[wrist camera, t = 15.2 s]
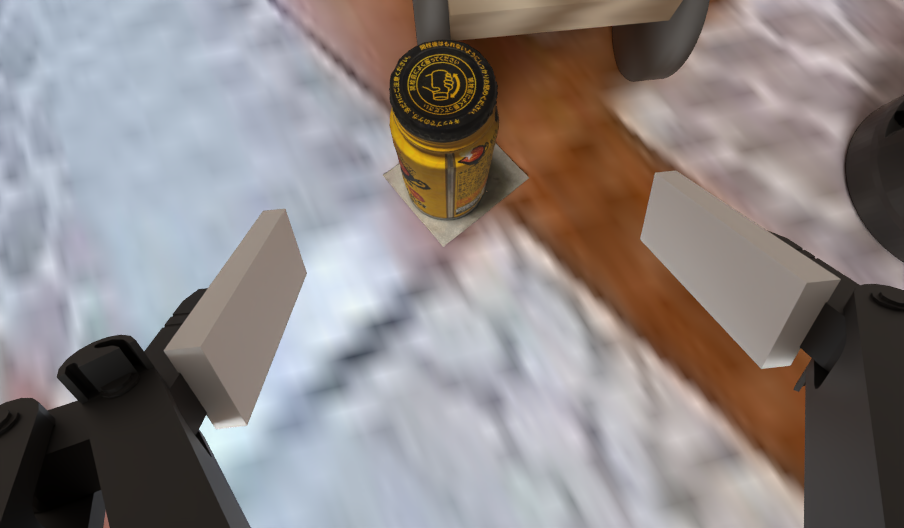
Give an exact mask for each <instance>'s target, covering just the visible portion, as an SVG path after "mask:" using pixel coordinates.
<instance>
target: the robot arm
mask: <svg viewBox="0 0 904 528" xmlns="http://www.w3.org/2000/svg"><path fill="white" fill-rule="evenodd" d="M846 176H847V183H848V188H849V192H850V195H851V198H852V201H853V204H854V206H855V208H856V210H857V212H858V214H859V216H860V218H861V219H862V221H863V222H864V224H865V225H866V227H867V228H868V230H869V231H870V232H871V233H872V235H873V236H874V237H875V238H876V239H877V240H878V241H879V243H880V244H882V245H883V246H884V247H885V248H886V249H887V250H888V251H889V252H890V253H892V254H893V255H894V256H895V257H897V258H898V259H899V260H901V261H902V262H904V95H903V96H901V97H899V98H897V99H895V100H893V101H892V102H890V103H888V104H886V105H884V106H882V107H881V108H879V109H877V110H876V111H874V112H873V113H872V114H870V115H869V116H868V117H867V118H866V119H865V120H864V121H863V122H862V123H861V125H860V126H859V127H858V129H857V130H856V132H855V134H854V136H853V138H852V140H851V142H850V145H849V149H848V153H847V160H846ZM640 240H641V241H642V242H643V243H644V244H645V245H646V246H647V247H648V248H649V249H650V250H651V251H652V252H653V254H654V255H655V256H656V257H657V258H658V259H659V260H660V261H661V262H662V263H663V264H664V265H665V266H666V267H667V269H668V270H669V271H670V272H671V273H672V274H673V275H674V276H675V277H676V278H677V279H678V280H679V281H680V282H681V283H682V285H683V286H684V287H685V288H686V289H687V290H688V291H689V292H690V293H691V294H692V295H693V296H694V297H695V298H696V300H697V301H698V302H699V303H700V304H701V305H702V306H703V307H704V308H705V309H706V310H707V311H708V312H709V313H710V314H711V316H712V317H713V318H714V319H715V320H716V321H717V322H718V323H719V324H720V325H721V326H722V327H723V328H724V329H725V331H726V332H727V333H728V334H729V335H730V336H731V337H732V338H733V339H734V340H735V341H736V342H737V343H738V344H739V345H740V347H741V348H742V349H743V350H744V351H745V352H746V353H747V354H748V355H749V356H750V357H751V358H752V359H753V360H754V362H755V363H756V364H757V365H758V366H759V367H760V368H761V369H763V368H773V367H782V366H790V365H791V363H792V362H793V360H794V358H795V357H796V355H797V353H798V351H799V350H800V348H801V349H803V350H804V351H805V352H806V353H807V354H808V355H809V356H810V357H811V358H812V359H811V361H810V362H809V364H808V366H807V367H806V369H805V370H804V372H803V374H802V375H801V377H800V379H799V380H798V382H797V383H796V385H795V387H794V390H796V391H798V392H799V391H800V389H801V387H802V386H805V385H806V403H805V489H804V528H904V290H901V289H898V288H894V287H891V286H885V285H879V284H863V285H861V286H860V285H859V284H857V283H856V282H854V281H852V280H851V279H849V278H848V277H846V276H845V275H843V274H842V273H840V272H839V271H837V270H835V269H834V268H832V267H831V266H829V265H828V264H826V263H825V262H823V261H821V260H820V259H818V258H817V259H815V256H814V255H812V254H811V253H809V252H807V251H806V250H802V248H801V247H800V246H798V245H797V244H795V243H794V242H792V241H790V240H789V239H787V238H785V237H783V236H780V235H777V234H775V233H772V232H770V231H767V230H765V229H764V228H762V227H761V226H759V225H758V224H756V223H755V222H753V221H752V220H750V219H749V218H747V217H746V216H744V215H743V214H741V213H740V212H738V211H736V210H735V209H733V208H732V207H730V206H729V205H727V204H726V203H724V202H723V201H721V200H720V199H718V198H717V197H715V196H714V195H712V194H711V193H709V192H708V191H706V190H705V189H703V188H702V187H700V186H699V185H697V184H696V183H694V182H692V181H691V180H689V179H688V178H686V177H685V176H683V175H682V174H680V173H679V172H677V171H669V172H658V173H655V176H654V180H653V185H652V189H651V194H650V198H649V203H648V207H647V211H646V216H645V220H644V225H643V229H642V234H641V238H640ZM306 274H307V272H306V269H305V266H304V263H303V260H302V257H301V254H300V251H299V248H298V245H297V242H296V239H295V236H294V233H293V230H292V227H291V224H290V221H289V218H288V215H287V212H286V209H278V210H267V211H263V212H262V213H261V215H260V216H259V217H258V219H257V220H256V222H255V223H254V224H253V226H252V227H251V229H250V230H249V231H248V233H247V234H246V236H245V237H244V238H243V240H242V241H241V243H240V244H239V245H238V247H237V248H236V250H235V251H234V253H233V254H232V255H231V257H230V258H229V260H228V261H227V262H226V264H225V265H224V267H223V268H222V269H221V271H220V272H219V274H218V275H217V276H216V278H215V279H214V281H213V282H212V283H211V285H210V286H209V288H206V289H198V290H197V291H196V292H194V293H193V294H192V295H190V296H189V297H188V298H186V299H185V300H184V301H183V302H182V303H181V304H180V305H179V307H178V308H177V309H176V311H175V312H174V313H173V317H170V319H169V320H168V321H167V322H166V324H165V328H162V329H161V330H160V332H159V333H158V334H157V336H156V337H155V338H154V339H153V341H152V342H151V343H150V345H149V346H148V347H147V349H146V350H145V351H143V350H142V348H141V347H140V346H139V344H138V343H137V341H136V340H135V339H134V338H132V337H131V336H127V335H116V336H111V337H106V338H104V339H101V340H98V341H95V342H93V343H91V344H89V345H87V346H85V347H84V348H82V349H80V350H78V351H77V352H76V353H74V354H73V355H72V356H70V357H69V358H68V359H67V360H66V361H65V362H64V363H63V364H62V366H61V367H60V368H59V370H58V374H57V378H58V379H59V380H60V381H61V383H62V384H63V385H64V386H65V387H66V388H67V389H68V390H69V391H70V392H71V393H72V394H73V395H74V397H75V398H76V399H77V400H78V401H75V402H72V403H69V404H66V405H63V406H60V407H57V408H54V409H51V410H48V411H47V410H46V409H45V408H44V407H43V406H42V405H41V404H40V403H39V402H38V401H36V400H35V399H33V398H20V399H16V400H13V401H9V402H6V403H3V404H1V405H0V528H103V525H104V518H105V510H106V513H107V517H108V522H109V526H110V528H251V527H250V525H249V523H248V521H247V519H246V517H245V515H244V513H243V512H242V510H241V508H240V506H239V504H238V502H237V500H236V498H235V496H234V494H233V492H232V490H231V488H230V486H229V484H228V482H227V480H226V478H225V476H224V474H223V473H222V471H221V469H220V467H219V465H218V463H217V461H216V459H215V457H214V455H213V453H212V451H211V449H210V447H209V445H208V443H207V441H206V439H205V437H204V436H203V434H202V433H201V432H200V430H199V428H200V426H201V424H202V422H203V420H204V418H205V416H206V415H207V416H208V418H209V419H210V421H211V422H212V424H213V425H214V427H215V428H216V429H222V428H231V427H240V426H247V425H248V422H249V419H250V417H251V414H252V412H253V409H254V407H255V404H256V402H257V399H258V396H259V394H260V391H261V389H262V386H263V384H264V381H265V379H266V376H267V374H268V371H269V368H270V366H271V363H272V361H273V358H274V356H275V353H276V351H277V348H278V346H279V343H280V340H281V338H282V335H283V333H284V330H285V328H286V325H287V323H288V320H289V317H290V315H291V312H292V310H293V307H294V305H295V302H296V300H297V297H298V295H299V292H300V289H301V287H302V284H303V282H304V279H305V277H306Z"/></svg>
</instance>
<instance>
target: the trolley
mask: <svg viewBox="0 0 904 528" xmlns="http://www.w3.org/2000/svg"><path fill="white" fill-rule="evenodd" d="M708 5H709V0H413V9H414V18H415V27H416V36H417V45H420V44H422V43H424V42H430V41H435V40H453V41H457V40H468V39H479V38H489V37H500V36H510V35H521V34H531V33H542V32H552V31H563V30H573V29H584V28H594V27H605V26H613V27H612V37H613V49H614V55H615V59H616V63H617V66H618V68H619V70H620V72H621V74H622V75H623V76H624V77H625V78H626V79H627V80H629V81H633V82H634V81H644V80H654V79H664V78H667V77H669V76H671V75H672V74H674V73H675V72H676V71H677V70H678V69H679V68H680V67H681V66H682V65H683V64H684V63H685V61H686V60H687V59H688V57H689V55H690V54H691V52H692V50H693V48H694V46H695V44H696V43H697V40H698V38H699V35H700V33H701V30H702V27H703V24H704V21H705V18H706V14H707V10H708Z"/></svg>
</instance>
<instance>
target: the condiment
mask: <svg viewBox="0 0 904 528" xmlns="http://www.w3.org/2000/svg"><path fill="white" fill-rule="evenodd" d="M497 87H498V85H497V82H496V81H495V75H494V72H493V69H492V67H491V66H490V64H489V63H488V61H487V60H486V59H485V58H484V57H483V56H482V55H481V53H480V52H478V51H477V50H475V49H474V48H472V47H471V46H469V45H468V44H465V43H462V42H458V41H453V40H435V41H430V42H424V43H422V44H420V45H418V46H416V47H414V48H413V49H411V50H409V51H408V52H407V53H406V54H405V55H403V56H402V58H400V59H399V61H398V64H397V66H396V68H395V70H394V71H393V73H392V74H391V78H390V88H389V90H390V103H391V105H392V109H391V114H390V129H391V134H392V138H393V143H394V146H395V149H396V152H397V156H398V159H399V164H398V165H397V166H395V167H394V168H393V169H392V170H390V171H389V172H387V173H386V174H384V175H383V176H384V177H385V179H386V180H387V181H388V182H389V183H390V185H391V186H392V187H393V188H394V189H395V191H396V192H397V193H398V194H399V195H400V197H401V198H402V199H403V200H404V201H405V203H406V204H407V205H408V206H409V207H410V208H411V210H412V211H413V212H414V213H415V214H416V216H417V217H418V218H419V219H420V220H421V221H422V223H423V224H424V225H425V226H426V227H427V228H428V230H429V231H430V232H431V233H432V234H433V235H434V237H435V238H436V239H437V240H438V241H439V242H440V244H441V245H442V246H443V247H444V246H445V245H446V244H447V243H449V242H450V241H451V240H452V239H454V238H455V237H456V236H458V235H459V234H460V233H461V232H463V231H464V230H465V229H466V228H467V227H469V226H470V225H471V224H473V223H474V222H475V221H476V220H478V219H479V218H480V217H481V216H483V215H484V214H485V213H486V212H488V211H489V210H490V209H491V208H492V207H493V206H495V205H496V204H497V203H499V202H500V201H501V200H502V199H504V198H505V197H506V196H507V195H509V194H510V193H511V192H512V191H514V190H515V189H516V188H517V187H518V186H519V185H521V184H522V183H523V182H525V181H526V180H527V179H528V178H529V177H528V176H527V175H526V174H525V173H524V172H523V171H522V170H521V169H520V168H519V167H518V166H517V165H516V164H515V163H514V162H513V161H512V160H511V159H510V158H509V157H508V156H507V155H506V154H505V153H504V152H503V151H502V149H501V148H500V147H499V146H498V145H497V144H496V143H495V142H496V137H497V133H498V129H499V117H498V111H497V106H496V103H497V102H496V99H497V95H498V92H497ZM486 191H487V192H486Z"/></svg>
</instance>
